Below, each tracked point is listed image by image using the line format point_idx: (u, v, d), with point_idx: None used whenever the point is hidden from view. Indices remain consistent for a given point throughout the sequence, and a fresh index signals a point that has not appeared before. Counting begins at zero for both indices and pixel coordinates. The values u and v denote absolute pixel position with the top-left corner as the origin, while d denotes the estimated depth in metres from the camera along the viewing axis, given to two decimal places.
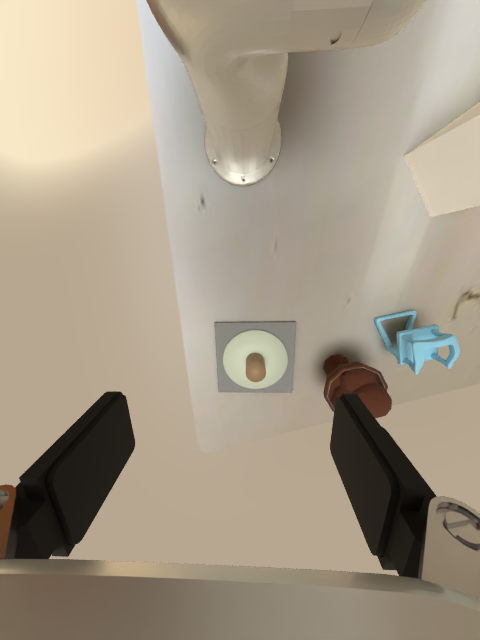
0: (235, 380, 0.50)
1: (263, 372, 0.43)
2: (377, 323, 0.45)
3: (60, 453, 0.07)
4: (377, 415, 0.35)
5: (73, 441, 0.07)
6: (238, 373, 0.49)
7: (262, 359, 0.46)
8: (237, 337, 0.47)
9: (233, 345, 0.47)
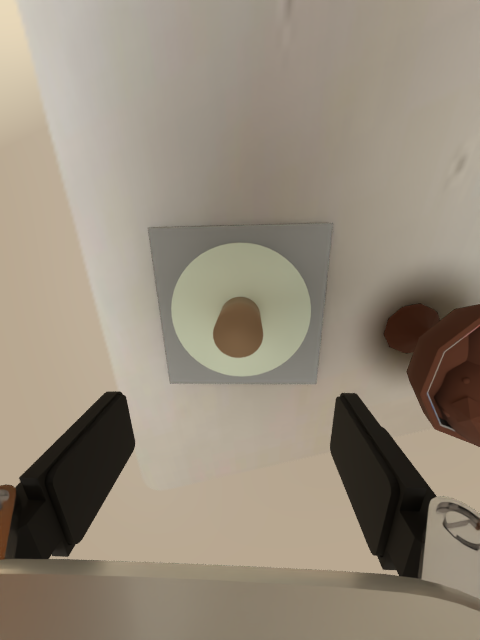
0: (200, 359, 0.24)
1: (257, 332, 0.18)
2: None
3: (60, 453, 0.07)
4: None
5: (73, 441, 0.07)
6: (206, 345, 0.24)
7: (255, 308, 0.20)
8: (198, 259, 0.21)
9: (191, 280, 0.21)
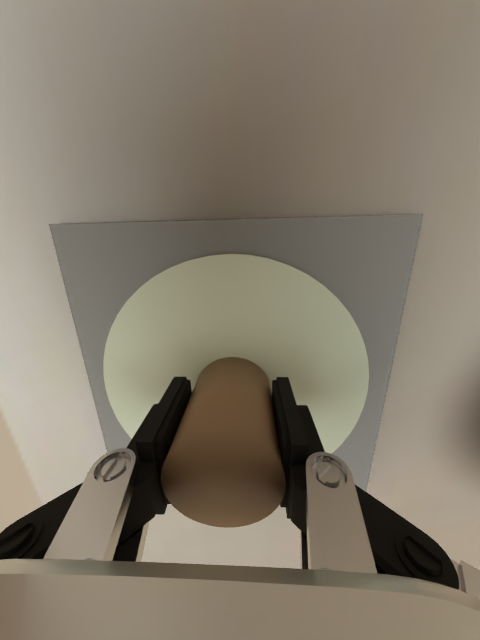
0: None
1: (271, 479, 0.07)
2: None
3: (160, 424, 0.08)
4: None
5: (165, 415, 0.08)
6: None
7: (263, 389, 0.10)
8: (149, 288, 0.10)
9: (137, 326, 0.11)
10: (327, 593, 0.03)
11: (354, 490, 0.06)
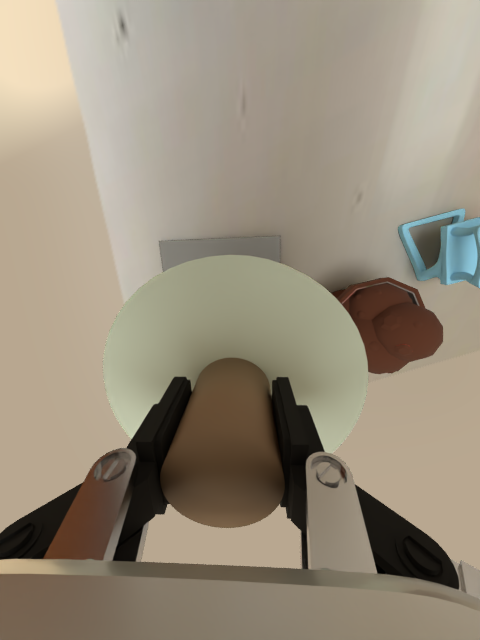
0: None
1: (270, 480, 0.07)
2: (403, 232, 0.30)
3: (160, 424, 0.08)
4: (420, 352, 0.20)
5: (165, 415, 0.08)
6: None
7: (262, 390, 0.10)
8: (148, 288, 0.10)
9: (137, 326, 0.11)
10: (327, 593, 0.03)
11: (354, 490, 0.06)
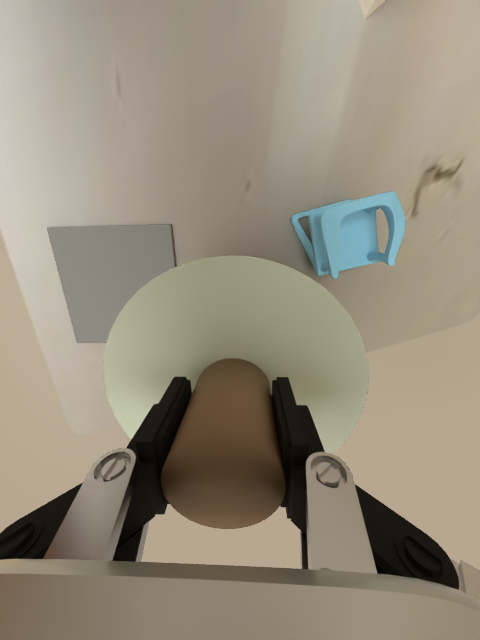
0: None
1: (271, 482, 0.07)
2: (294, 223, 0.29)
3: (160, 424, 0.08)
4: None
5: (165, 415, 0.08)
6: None
7: (263, 391, 0.10)
8: (149, 289, 0.10)
9: (137, 327, 0.11)
10: (327, 593, 0.03)
11: (354, 490, 0.06)
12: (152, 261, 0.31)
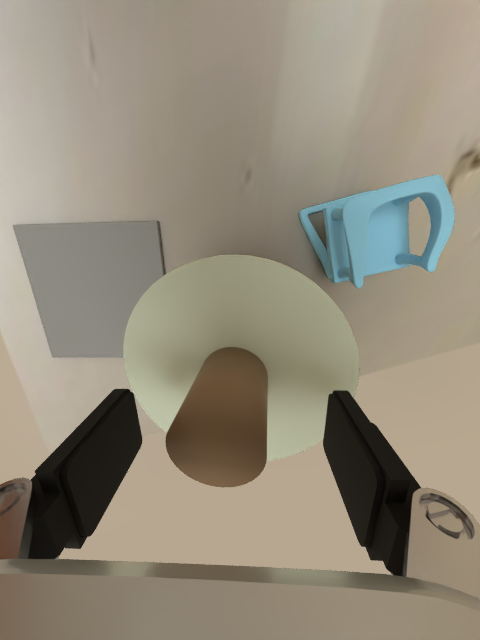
0: None
1: (254, 450, 0.08)
2: (303, 219, 0.24)
3: (73, 449, 0.07)
4: None
5: (85, 436, 0.07)
6: None
7: (257, 376, 0.11)
8: (160, 284, 0.12)
9: (151, 317, 0.13)
10: (327, 593, 0.03)
11: None
12: (137, 264, 0.27)
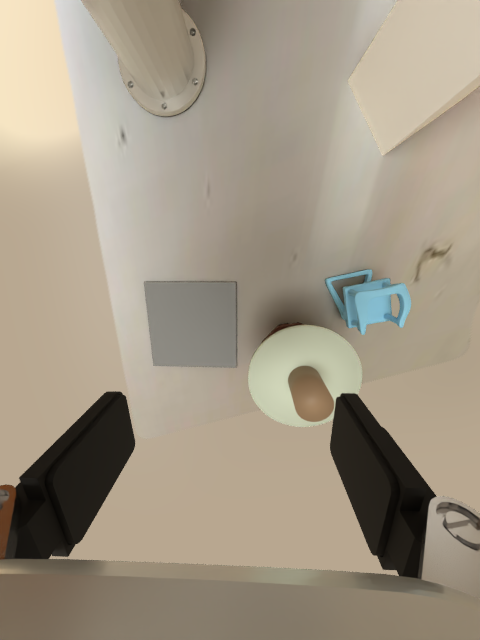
0: (267, 411, 0.29)
1: (330, 404, 0.23)
2: (328, 284, 0.39)
3: (59, 454, 0.06)
4: None
5: (73, 441, 0.07)
6: (273, 401, 0.29)
7: (321, 378, 0.26)
8: (275, 337, 0.27)
9: (267, 352, 0.27)
10: (327, 593, 0.03)
11: None
12: (220, 307, 0.42)
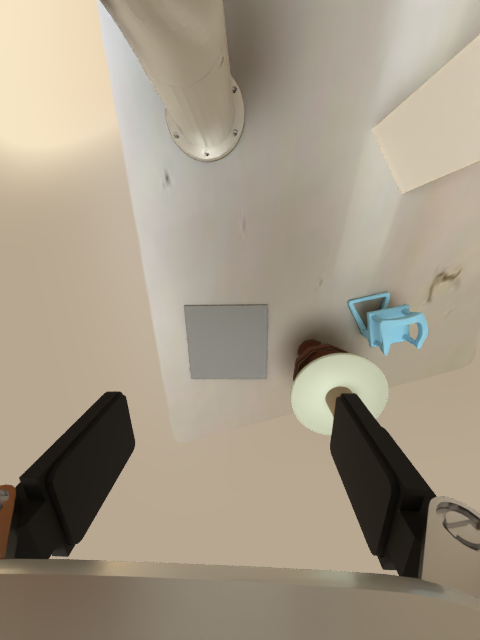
0: (306, 424, 0.35)
1: None
2: (350, 306, 0.44)
3: (59, 454, 0.06)
4: None
5: (73, 441, 0.07)
6: (312, 415, 0.34)
7: None
8: (316, 364, 0.31)
9: (309, 376, 0.32)
10: (327, 593, 0.03)
11: None
12: (252, 327, 0.46)
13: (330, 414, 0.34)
